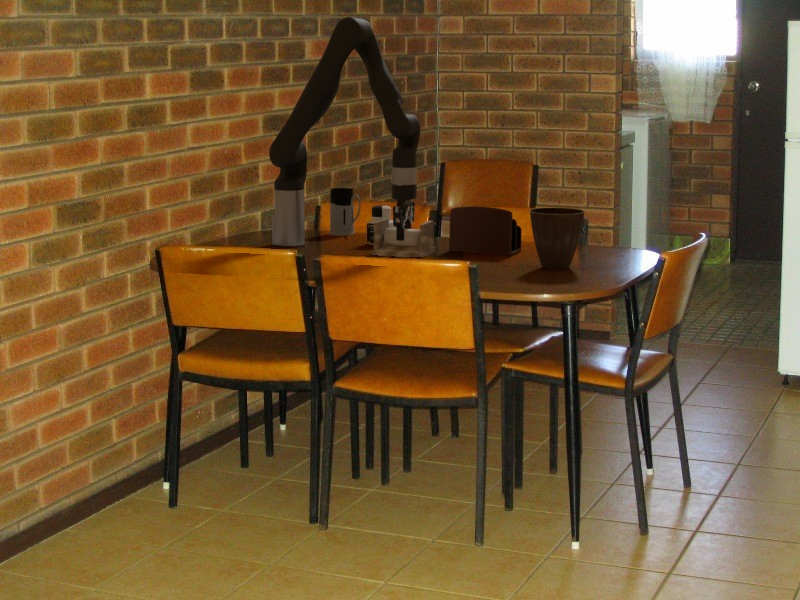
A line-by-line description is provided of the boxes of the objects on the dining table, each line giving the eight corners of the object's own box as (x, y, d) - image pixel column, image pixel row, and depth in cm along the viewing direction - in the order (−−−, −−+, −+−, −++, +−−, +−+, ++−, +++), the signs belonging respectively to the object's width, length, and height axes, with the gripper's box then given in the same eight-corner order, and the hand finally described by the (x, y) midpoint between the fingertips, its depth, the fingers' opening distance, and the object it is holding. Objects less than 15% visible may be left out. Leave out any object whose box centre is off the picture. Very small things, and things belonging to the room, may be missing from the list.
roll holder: (371, 255, 356) (371, 223, 354) (386, 248, 369) (387, 217, 367) (421, 258, 351) (421, 225, 349) (435, 251, 364) (435, 220, 362)
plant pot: (581, 273, 326) (583, 214, 323) (526, 271, 328) (527, 213, 326) (583, 264, 340) (585, 208, 337) (530, 263, 343) (531, 207, 340)
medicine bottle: (366, 244, 378) (366, 206, 376) (375, 241, 384) (375, 204, 382) (387, 246, 375) (387, 207, 373) (396, 243, 382) (396, 205, 379)
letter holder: (510, 256, 357) (511, 208, 354) (448, 251, 365) (449, 205, 362) (521, 251, 366) (522, 205, 363) (460, 247, 374) (461, 202, 371)
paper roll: (383, 247, 359) (383, 229, 358) (390, 244, 364) (389, 226, 363) (418, 249, 355) (418, 231, 354) (424, 246, 360) (424, 228, 359)
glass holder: (344, 231, 408) (344, 187, 405) (370, 236, 397) (370, 190, 394) (323, 233, 402) (323, 188, 400) (349, 238, 392) (349, 192, 389)
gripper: (399, 180, 364) (399, 235, 367) (384, 184, 350) (383, 241, 353) (423, 180, 361) (423, 236, 365) (408, 185, 348) (408, 242, 351)
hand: (403, 238), depth 359 cm, fingers open, 6 cm apart
